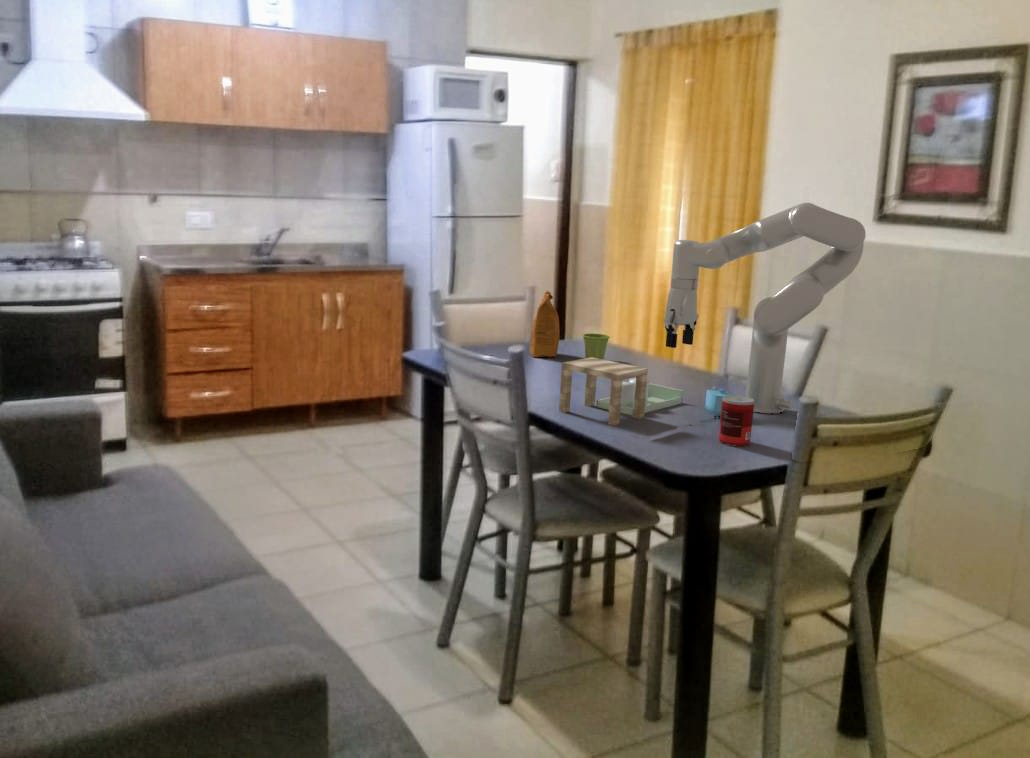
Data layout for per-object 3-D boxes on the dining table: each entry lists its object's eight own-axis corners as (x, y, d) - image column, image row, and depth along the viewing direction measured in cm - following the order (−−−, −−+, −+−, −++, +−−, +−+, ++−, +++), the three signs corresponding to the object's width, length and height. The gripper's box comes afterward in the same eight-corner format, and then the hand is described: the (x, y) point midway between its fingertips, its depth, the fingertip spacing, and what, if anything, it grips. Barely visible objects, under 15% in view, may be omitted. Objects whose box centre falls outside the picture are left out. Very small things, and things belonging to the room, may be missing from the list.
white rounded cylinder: (636, 409, 264) (638, 384, 262) (625, 412, 260) (627, 386, 258) (620, 405, 267) (622, 380, 266) (608, 408, 263) (610, 383, 262)
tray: (682, 405, 275) (683, 390, 274) (633, 418, 257) (634, 402, 256) (646, 397, 282) (647, 382, 282) (596, 409, 265) (597, 393, 264)
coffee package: (557, 352, 346) (561, 290, 341) (558, 359, 334) (562, 295, 329) (529, 351, 346) (533, 289, 341) (529, 357, 334) (532, 293, 329)
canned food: (745, 438, 244) (749, 395, 241) (753, 447, 236) (758, 403, 234) (714, 437, 243) (719, 394, 241) (722, 446, 236) (726, 401, 233)
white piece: (650, 405, 269) (652, 381, 267) (639, 408, 265) (641, 383, 263) (634, 402, 272) (636, 377, 271) (623, 404, 268) (625, 380, 267)
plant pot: (576, 357, 338) (578, 333, 337) (602, 357, 341) (603, 333, 339) (586, 363, 330) (588, 337, 328) (612, 362, 332) (614, 337, 331)
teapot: (700, 409, 272) (702, 383, 270) (720, 410, 273) (723, 383, 272) (716, 420, 260) (718, 393, 259) (737, 420, 262) (740, 393, 260)
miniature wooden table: (643, 421, 256) (647, 368, 253) (614, 429, 246) (618, 374, 243) (588, 407, 267) (592, 357, 264) (558, 414, 257) (562, 362, 255)
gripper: (689, 281, 284) (684, 340, 288) (656, 284, 272) (651, 346, 275) (711, 284, 280) (706, 344, 283) (679, 287, 267) (674, 350, 270)
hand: (679, 345), depth 279 cm, fingers open, 8 cm apart
